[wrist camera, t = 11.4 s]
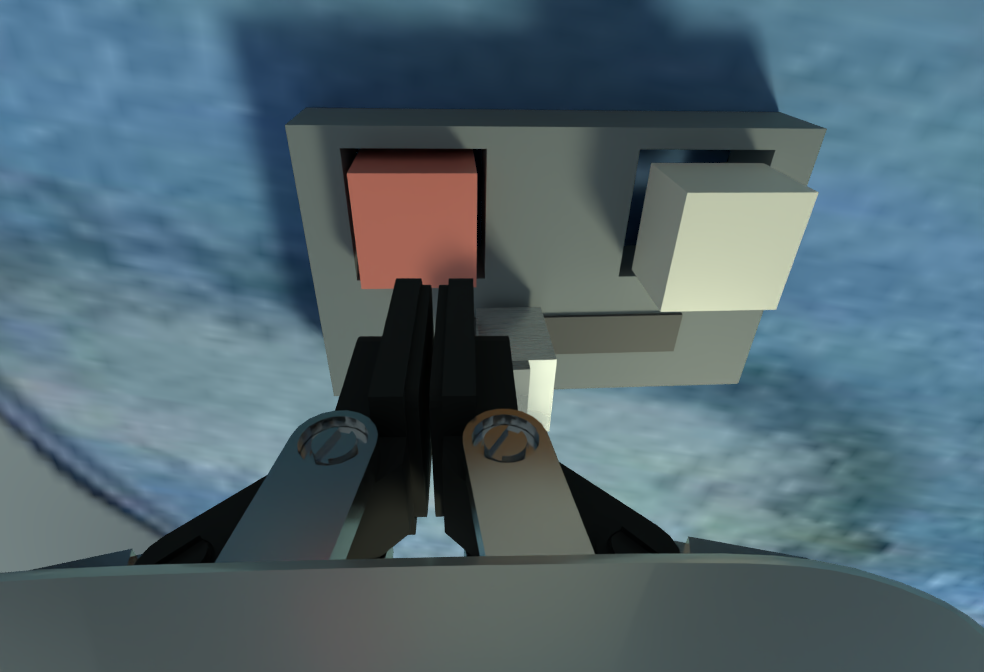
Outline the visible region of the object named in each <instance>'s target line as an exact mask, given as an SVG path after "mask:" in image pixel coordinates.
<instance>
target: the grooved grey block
mask: <svg viewBox="0 0 984 672" xmlns="http://www.w3.org/2000/svg"><path fill="white" fill-rule="evenodd" d="M476 336H509V340H510V348H511V356H512V364H513V372H514V380H515V389H516V397H517V405H518V411H522V412H524V413H527V414H529V415H531V416H533V417H534V418H535V419H537V420H538V421H539V422H540V423H542V425H543V426H544V428H545V430H546V431H549V427H550V418H551V409H552V400H553V391H554V381H555V372H556V363H557V358H556V355H555V352H554V349H553V345H552V342H551V339H550V336H549V332H548V329H547V326H546V322H545V319H544V316H543V313H542V309H541V307H512V308H476Z"/></svg>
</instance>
